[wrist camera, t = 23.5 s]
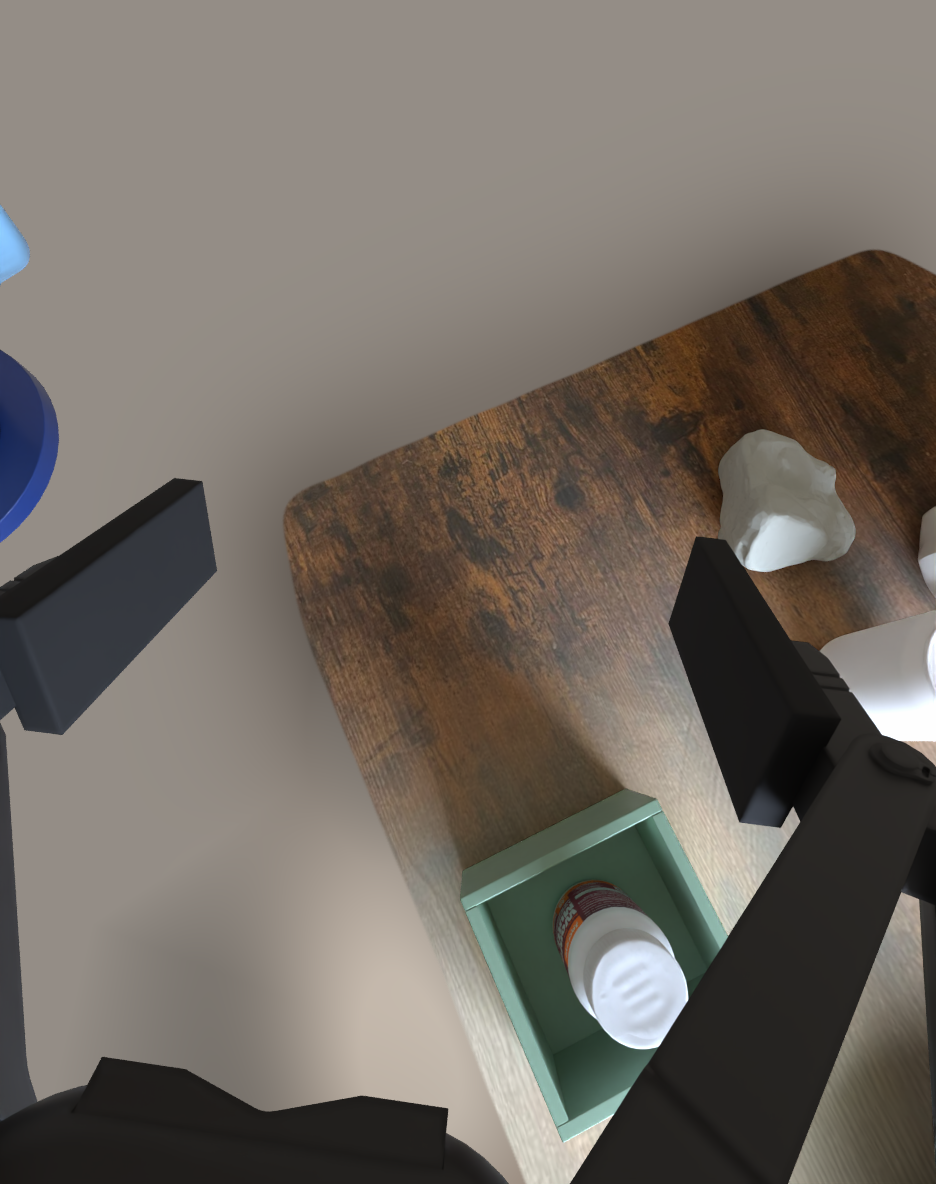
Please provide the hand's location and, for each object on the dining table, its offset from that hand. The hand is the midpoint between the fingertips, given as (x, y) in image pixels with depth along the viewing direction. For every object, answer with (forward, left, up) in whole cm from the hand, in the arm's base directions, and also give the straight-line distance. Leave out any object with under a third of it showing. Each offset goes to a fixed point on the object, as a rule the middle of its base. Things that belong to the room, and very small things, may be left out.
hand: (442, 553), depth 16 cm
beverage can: (+29, +11, -31) cm, 44 cm away
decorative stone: (+19, +22, -31) cm, 43 cm away
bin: (+15, -13, -31) cm, 37 cm away
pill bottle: (+15, -13, -31) cm, 37 cm away
